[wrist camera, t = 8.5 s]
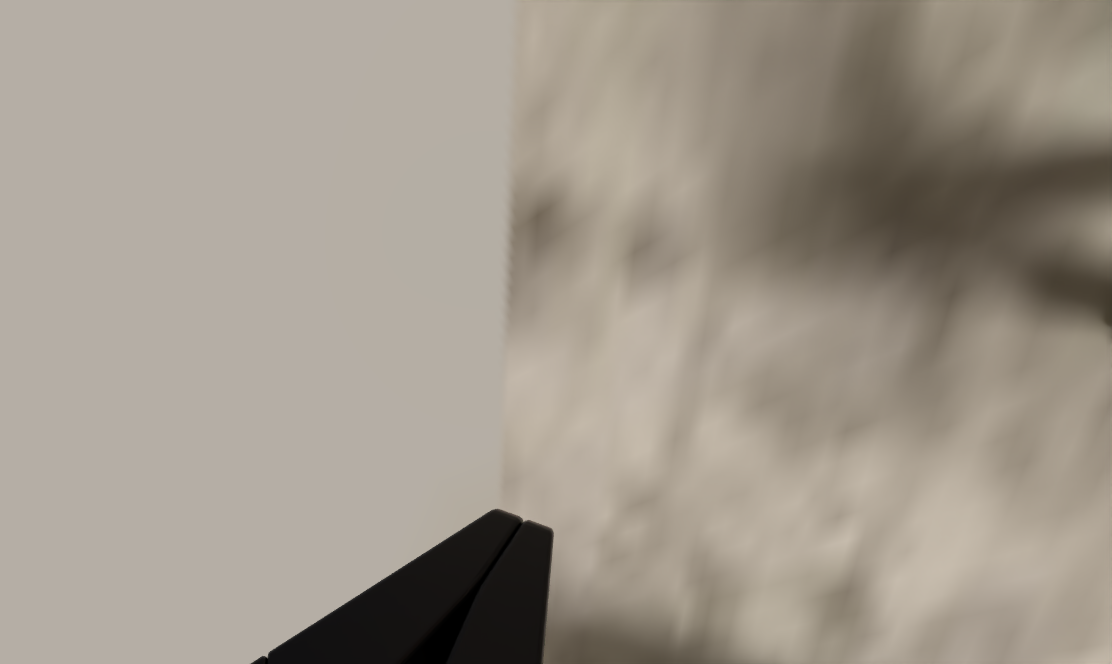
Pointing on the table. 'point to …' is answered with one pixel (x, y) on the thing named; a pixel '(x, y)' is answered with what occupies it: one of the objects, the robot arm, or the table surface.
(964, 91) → the table surface
